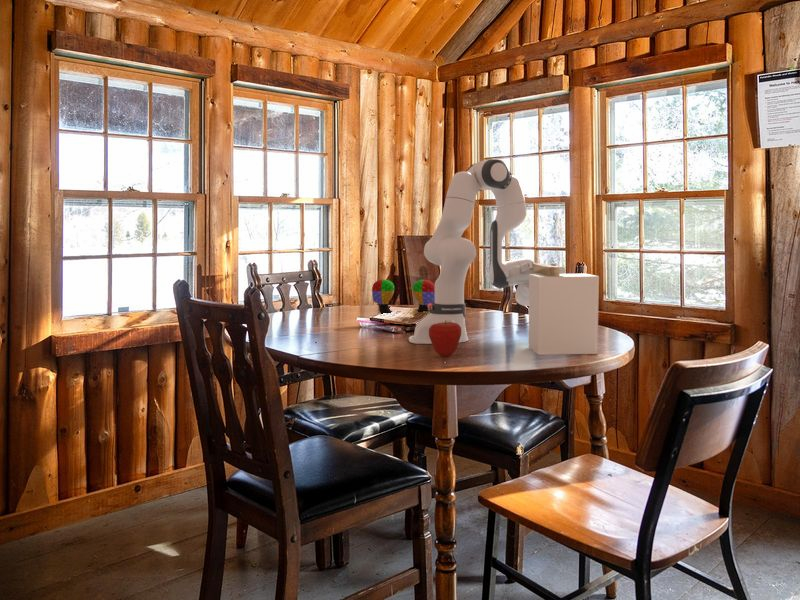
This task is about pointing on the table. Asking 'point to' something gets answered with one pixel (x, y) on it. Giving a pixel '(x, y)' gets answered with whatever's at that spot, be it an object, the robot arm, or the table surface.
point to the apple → (445, 337)
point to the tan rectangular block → (546, 269)
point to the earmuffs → (385, 291)
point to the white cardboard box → (563, 314)
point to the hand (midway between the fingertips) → (541, 264)
